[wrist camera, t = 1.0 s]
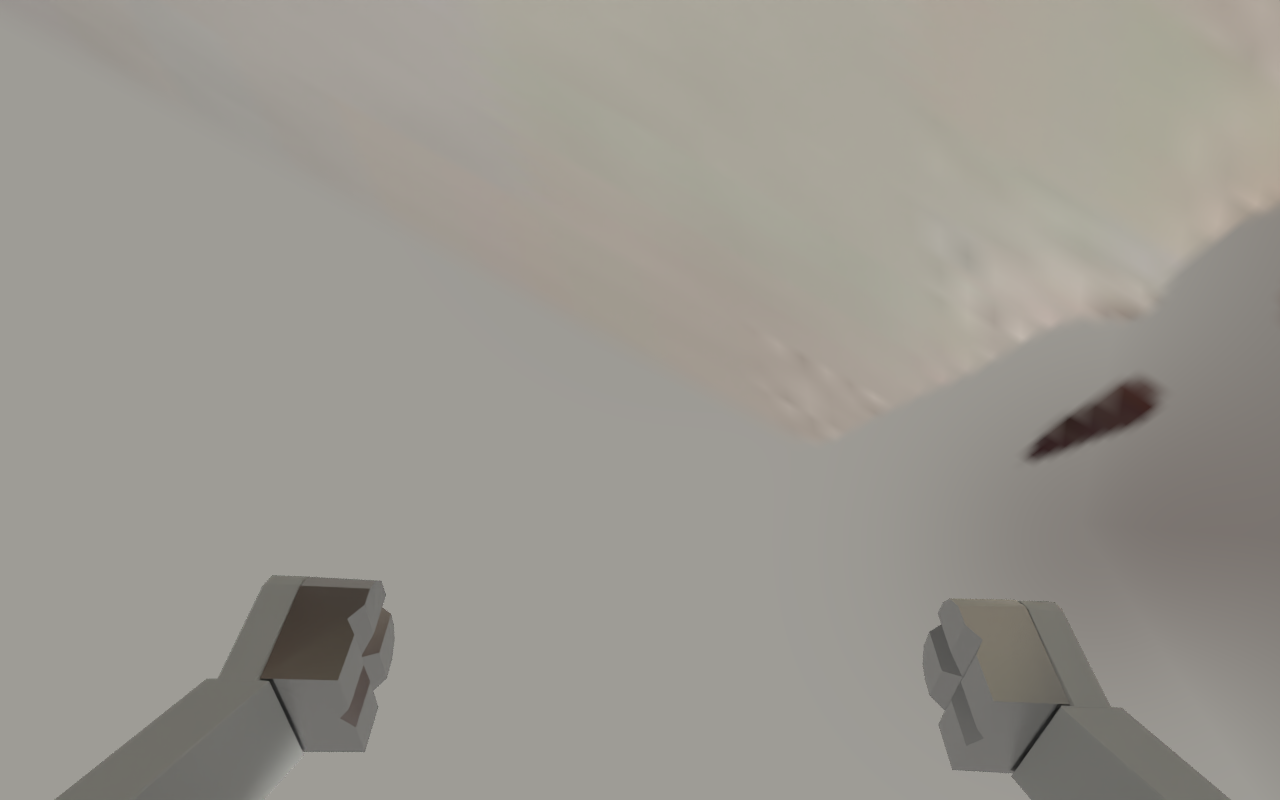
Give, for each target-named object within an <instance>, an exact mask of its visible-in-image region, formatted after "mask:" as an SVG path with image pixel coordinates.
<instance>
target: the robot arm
mask: <svg viewBox="0 0 1280 800" xmlns="http://www.w3.org/2000/svg"><path fill="white" fill-rule="evenodd" d="M385 596H386V594H385V591H384V588H383V585H382V581H374V580H357V579H338V578H320V577H304V576H277V575H272V576H271V577H270V578H269V580H268V581H267V582H266V583H265V584H264V585H263V586H262V588H261V590H260V592H259V594H258V596H257V598H256V601H255V602H254V604H253V607H252V609H251V611H250V613H249V615H248V617H247V619H246V621H245V623H244V625H243V627H242V629H241V631H240V633H239V635H238V637H237V640H236V642H235V644H234V646H233V648H232V650H231V652H230V654H229V656H228V658H227V660H226V662H225V665H224V667H223V668H222V671H221V673H220V675H219V677H218V679H206V680H204V681H203V682H202V683H201V684H199V685H198V686H197V687H196V688H194V689H193V690H192V691H191V692H189V693H188V694H187V695H186V696H185V697H183V698H182V699H181V700H179V701H178V702H177V703H176V704H174V705H173V706H172V707H171V708H169V709H168V710H167V711H166V712H164V713H163V714H162V715H161V716H159V717H158V718H157V719H155V720H154V721H153V722H152V723H150V724H149V725H148V726H147V727H145V728H144V729H143V730H142V731H141V732H139V733H138V734H137V735H136V736H134V737H133V738H132V739H130V740H129V741H128V742H127V743H125V744H124V745H123V746H122V747H120V748H119V749H118V750H116V751H115V752H114V753H113V754H111V755H110V756H109V757H108V758H106V759H105V760H104V761H103V762H101V763H100V764H99V765H98V766H96V767H95V768H94V769H93V770H91V771H90V772H89V773H88V774H86V775H85V776H84V777H83V778H81V779H80V780H79V781H77V782H76V783H75V784H74V785H72V786H71V787H70V788H69V789H68V790H66V791H65V792H64V793H62V794H61V795H60V796H59V797H57V798H56V799H55V800H264V799H265V798H266V797H267V796H268V795H269V794H270V792H271V791H272V790H273V789H274V788H275V787H276V786H277V785H278V784H279V783H280V782H281V780H282V779H283V778H284V777H285V776H286V775H287V773H289V772H290V770H291V769H292V768H293V767H294V766H295V765H296V764H297V763H298V762H299V760H300V759H301V758H302V757H303V756H304V753H303V752H365V749H366V746H367V742H368V739H369V736H370V733H371V729H372V726H373V723H374V720H375V716H376V713H377V709H378V705H377V702H376V699H375V696H374V692H373V690H374V689H375V688H377V687H378V686H379V685H380V684H381V683H382V682H383V681H384V680H385V679H386V678H387V675H388V671H389V668H390V664H391V661H392V655H393V647H394V624H393V620H392V616H391V614H390V613H389V612H387V611H386V610H385V609H384V608H382V606H383V603H384V600H385ZM938 615H939V618H940V621H941V625H940V626H938V627H936V628H935V629H933V630H932V631H930V632H929V634H928V637H927V639H926V642H925V644H924V652H923V669H924V676H925V681H926V684H927V688H928V691H929V695H930V696H931V697H932V698H933V699H934V700H935V701H936V702H937V703H938V704H939V705H940V706H941V707H942V708H943V709H944V710H945V711H944V714H943V716H942V718H941V720H940V722H939V728H940V731H941V734H942V738H943V740H944V744H945V747H946V750H947V754H948V757H949V760H950V764H951V766H952V770H965V771H983V772H1000V773H1013V775H1012V778H1013V779H1014V780H1015V781H1016V782H1017V783H1018V785H1019V786H1020V787H1021V788H1022V789H1023V790H1024V792H1025V793H1026V794H1027V795H1028V796H1029V798H1030V799H1031V800H1231V799H1229V798H1228V797H1227V796H1226V795H1225V794H1223V793H1222V792H1221V791H1220V790H1219V789H1217V788H1216V787H1215V786H1214V785H1213V784H1212V783H1210V782H1209V781H1208V780H1207V779H1206V778H1204V777H1203V776H1202V775H1201V774H1200V773H1199V772H1197V771H1196V770H1195V769H1194V768H1193V767H1191V766H1190V765H1189V764H1188V763H1187V762H1185V761H1184V760H1183V759H1182V758H1181V757H1179V756H1178V755H1177V754H1176V753H1175V752H1173V751H1172V750H1171V749H1170V748H1169V747H1168V746H1166V745H1165V744H1164V743H1163V742H1162V741H1160V740H1159V739H1158V738H1157V737H1156V736H1155V735H1153V734H1152V733H1151V732H1150V731H1149V730H1147V729H1146V728H1145V727H1144V726H1142V724H1140V723H1139V722H1138V721H1137V720H1135V719H1134V718H1133V717H1132V716H1131V715H1130V714H1128V713H1127V712H1126V711H1125V710H1124V709H1123V708H1117V707H1111V706H1110V704H1109V702H1108V700H1107V698H1106V696H1105V694H1104V692H1103V690H1102V688H1101V686H1100V684H1099V682H1098V680H1097V678H1096V676H1095V674H1094V672H1093V670H1092V668H1091V666H1090V664H1089V662H1088V661H1087V658H1086V656H1085V654H1084V652H1083V650H1082V648H1081V646H1080V644H1079V642H1078V640H1077V638H1076V636H1075V634H1074V632H1073V630H1072V628H1071V626H1070V624H1069V622H1068V620H1067V618H1066V616H1065V614H1064V612H1063V610H1062V609H1061V608H1060V607H1059V606H1058V605H1057V604H1056V603H1055V602H1048V601H1016V600H1003V599H948V600H947V601H945V602H943V604H942V606H941V608H940V610H939V612H938Z"/></svg>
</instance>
